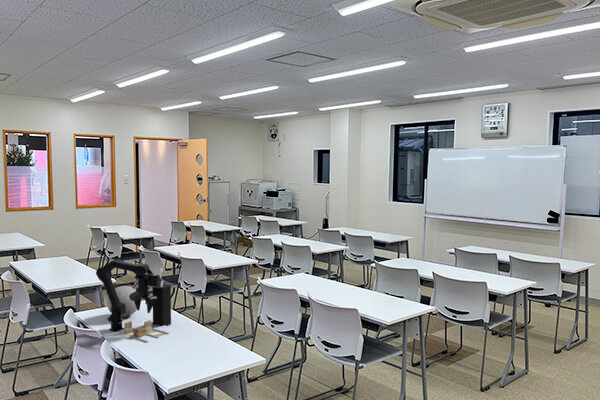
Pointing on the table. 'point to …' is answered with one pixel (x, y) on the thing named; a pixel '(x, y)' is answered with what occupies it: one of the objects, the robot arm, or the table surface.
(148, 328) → the strip broken
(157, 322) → the black rectangular block
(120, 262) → the robot arm
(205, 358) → the table surface
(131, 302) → the moon model
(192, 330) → the table surface
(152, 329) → the lane board
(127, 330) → the tan piece
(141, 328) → the cube
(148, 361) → the table surface
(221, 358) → the table surface
